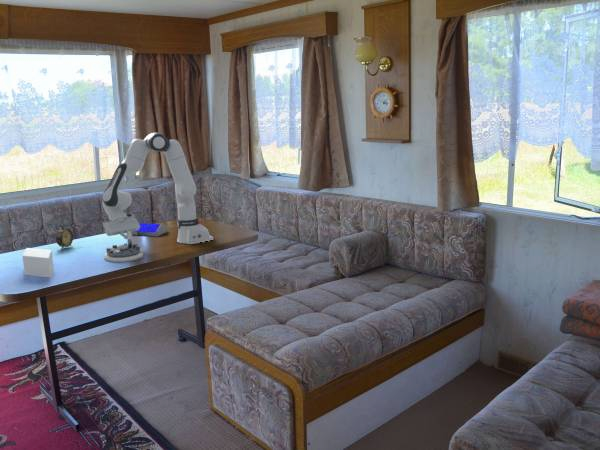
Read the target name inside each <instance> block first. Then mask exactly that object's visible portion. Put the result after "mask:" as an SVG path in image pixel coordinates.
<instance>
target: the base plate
mask: <svg viewBox="0 0 600 450" xmlns="http://www.w3.org/2000/svg"><path fill="white" fill-rule="evenodd" d="M127 245H128V244H127ZM127 245H124V244H120V245H118V246H119V250H126V249H127ZM103 257H104V260H105V261H106V262H108V263H109V262H111V263H125V262H127V263H128V262H131V261H136V260H138V259H142V258H143V257H144V251H143V250H142V249H140V253H139V254H136V255H133V256H128V257H110V256H108V255H107V252H105V253H104V255H103Z"/></svg>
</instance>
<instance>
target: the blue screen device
mask: <svg viewBox="0 0 600 450" xmlns="http://www.w3.org/2000/svg"><path fill="white" fill-rule="evenodd" d="M138 223H139V222H138ZM139 225H140V228H139V230H138V231H133V232H131V233H132V236H147V237H159V236H161V235H163V234H165V233H167V227H166V226H165V225H163V224H162V223H148V222H147V223H143V222H141V223H139Z"/></svg>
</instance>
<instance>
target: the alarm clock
mask: <svg viewBox="0 0 600 450" xmlns="http://www.w3.org/2000/svg"><path fill="white" fill-rule="evenodd" d="M62 223H63V226H62V225H60V227H61V228H60V229H59V230H57V232H56V233H55V234H56V235H55V241H56V244H57V245H58V246H59V247H61V251H63V250H64V248H69V247H72V244H73V240H74V236H73V232H72V230H71V229H69V228H64V227H65V222H64V221H61V223H60V224H62Z"/></svg>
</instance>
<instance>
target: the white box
mask: <svg viewBox="0 0 600 450" xmlns="http://www.w3.org/2000/svg"><path fill="white" fill-rule="evenodd" d="M21 256H22V261H23V262H22V263H23V270H24V275H25V276H33V277H45V278H52V274H53V271H54V260H53V259H54V258H53V251H52V249H46V248H45V249H44V248H32V247H26V248H25V250H24V252H23V254H22V255H21Z"/></svg>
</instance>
